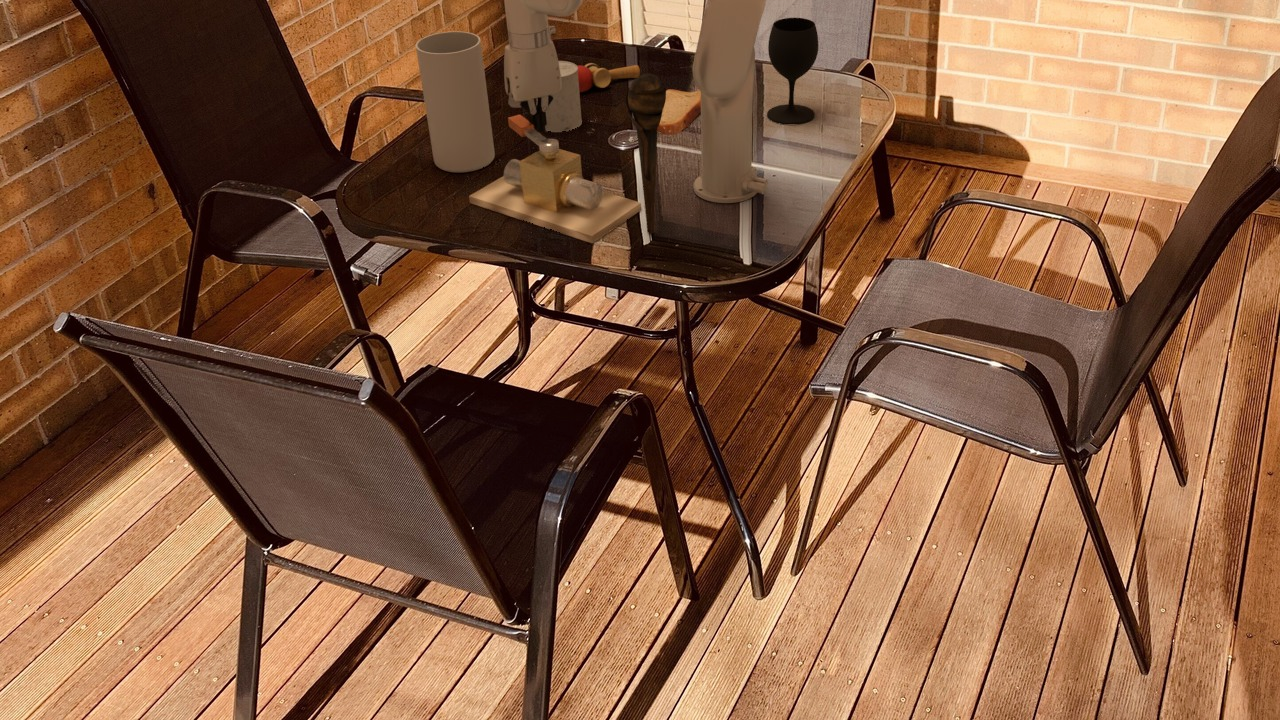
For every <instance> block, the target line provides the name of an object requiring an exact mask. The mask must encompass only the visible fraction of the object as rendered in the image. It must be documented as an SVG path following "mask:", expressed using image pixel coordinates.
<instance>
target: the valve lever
mask: <svg viewBox="0 0 1280 720" xmlns="http://www.w3.org/2000/svg"><path fill="white" fill-rule="evenodd" d="M507 121H508V127H509V128H510V129H511V130H513V131H514V132H515V133H517V134H518V135H519V136H520V137H521V138H524V137H526V138H527V139H529V140H530V141H531V142H533V143H534V144H536V146H538V149H539V150H540V154H541V155H544V156H552V155H556V154H558V153H559V149H560V145H559V140H558V139H556V138H547V137H545V135H543V134H542V133H539V132H538V131H536V130H535V129H534V125H533V124H532V123H531V122H529V119H527V118H525V117H524V116H523V115H521V114H517V115H513V116H510V117H507ZM539 150H538V151H539Z"/></svg>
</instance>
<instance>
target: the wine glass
mask: <svg viewBox="0 0 1280 720" xmlns="http://www.w3.org/2000/svg"><path fill="white" fill-rule="evenodd" d="M767 51H768V58H769V61H770V63H771V65H772V66H773V68H774V69H775V71H776V72H777V73H778V74H779V75H781V76H782V77H783V78H785V79H787V81H788V87H789V88H788V90H789V91H788V92H789V93H788V94H789V95H788V96H789V97H788V104H780V105H777V106H776V105H775V106H773V107H770V108H769V110H768V111H767V113H766V117H767V118H768V119H769V121H771V120H772V123H775V122H776V124H779V123H780V125H784V124H798V125H803V124H806V123H809V122H811V121H813V119H814V118H815V117H816V116H815V111H814V110H813V109H812V108H810V107H808V106H805V105H801V104H794V103H795V101H794V99H795V97H794V96H795V87H796V86H795V85H796V81H797V80H798V79H799V78H801V77H803V76H804V75H805V74H806V73H808V72H809V71H810V70H811V69H812V67H813V65H815V62H816V60H817V57H818V52H819V36H818V31H817V26H816V23H815V22H814V21H813V20H811V19H808V18H804V17H786V18H780V19H778V20H776V21H774V22H773V24H772V25H771V29H770V33H769V37H768V50H767Z"/></svg>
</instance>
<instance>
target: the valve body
mask: <svg viewBox="0 0 1280 720" xmlns="http://www.w3.org/2000/svg"><path fill="white" fill-rule="evenodd" d="M581 157H582V156H581V154H579V153H574V152H571V151H567V150H564V149H561V148H559V153H558V154H556V155H552V156H544V155H541V154H540V150H537V151H536V152H534V153H532V154H530V155H528V156H527V157H524V158H523V159H521V160H519V159H516V158H513V159H510V160H509V161H508V163H507V164H506V165H505V167H504V170H503V176H504V180H505V182H506V183H507V184H509V185H512V186H515V187H519V188H522V190H523V196H524V203H527V204H530V205H533V206H536V207H539V208H543V209H546V210H549V211H552V212H555V213H558V212H559V211H561V210H563V209H564V208H566V207H575V206H580V207H583V208H586V209H589V210H594V209H596V208H597V207H598V206H599V204H600V203H601V200H602V196H603V192H604V191H603V190H604V189H603V186H602V185H601V184H600V183H598V182H595V181H590V180H588V179H584V177H583V171H582V159H581Z"/></svg>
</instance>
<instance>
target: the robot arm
mask: <svg viewBox="0 0 1280 720" xmlns="http://www.w3.org/2000/svg"><path fill="white" fill-rule="evenodd" d="M503 1H504V9H505V10H504V11H505V18H506V27H507V35H508V44H507V45H505V47H504V56H503V57H504V58H503V59H504V60H503V61H504V62H503V68H504V69H503V75H504V76H503V77H504V89H505V92H506V95H507V96H508V103H507V104H508V105H509V106H510V107H511V108H516V109H517V108H519V109H520V108H522V109H524V110H525V111H527V114H528V121H529V122H531V123H532V124H533V125H534V129H535V130H536V131H538V132H539V133H540V134H542V133H546V132H547V131H546V129H545V125H547V120H546V111H547V110H548V106H549V105H550V103H551V102H552V100H553V99H556V98H558V97H560V96H562V91H561V87H562V82H561V74H560V67H559V62H558V61H559V58H558V54H557V50H556V47H555V44H554V41H553V40H552V39H551V38H552V37H551V35H552V34H555V33H556V32H557V29H556V26H555V25H549V17H548V16H552V17H558V18H559V17H561V18H563V17H570V16H571V15H573V14H574V13H576V12H577V11H578V10H579V8H580V7H581V5H582V4H583V2H584V1H585V0H503ZM766 4H767V0H707V1H706V5H705V8H704V13H703V16H702V19H701V20H702V22H701V26H700V31H699V34H698V41H697V44H696V50H695V54H694V58H693V64H692V76H693V80H694V83H695V86H696V87H697V89H698V91H701V112H700V130H701V131H700V136H701V138H700V143H701V145H700V147H701V150H700V152H701V153H700V154H701V155H700V156H701V157H700V158H701V159H700V161H701V174H700V175H699V176H698V177H696V179H695V180H694V181H693V192H694V193H695V195H696V196H698V197H699V198H701V199H703V200H705V201H708V202H711V203H716V204H717V203H718V204H733V203H740V202H745V201H748V200H750V199H751V198H753V197H754V196H755V195H757V194H761V195H765V194H766V193H767V191H768V183H769V180H768V179H767V178H763V177H758V175H757V167H755V166H752V155H753V153H752V148H753V147H752V146H753V145H752V143H753V142H752V141H753V139H752V138H753V109H754V108H753V106H754V104H753V103H754V102H753V101H754V99H753V98H754V77H755V65H756V63H755V62H756V50H755V44H756V42H757V41H756V40H757V36H758V32H759V28H760V23H761V20H762V18H763V13H764V11H765V7H766ZM536 98H537V101H536V102H535V100H536ZM535 103H536V105H535Z"/></svg>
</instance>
